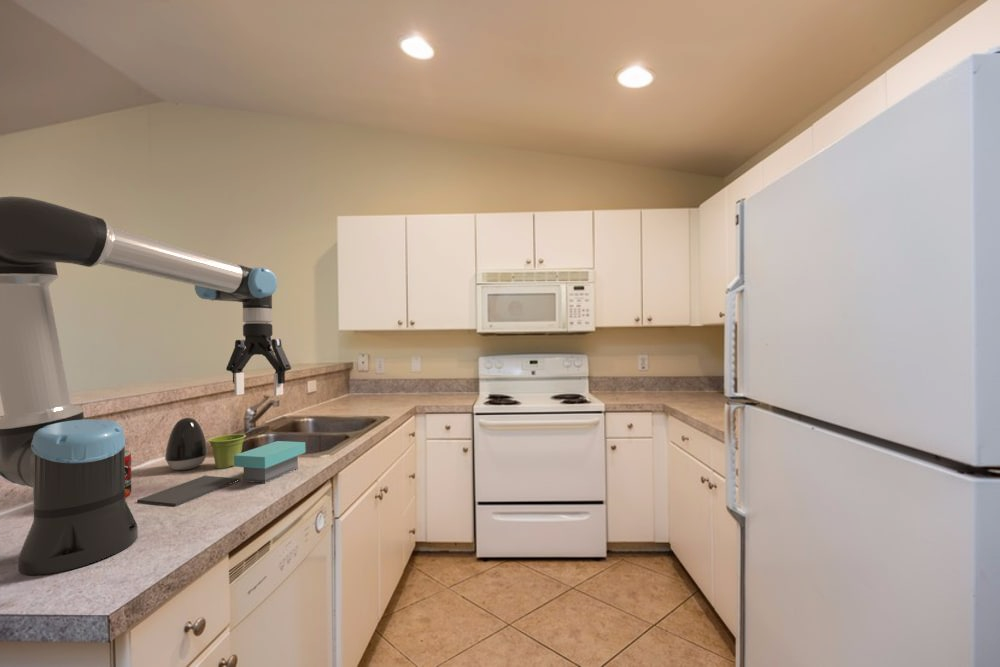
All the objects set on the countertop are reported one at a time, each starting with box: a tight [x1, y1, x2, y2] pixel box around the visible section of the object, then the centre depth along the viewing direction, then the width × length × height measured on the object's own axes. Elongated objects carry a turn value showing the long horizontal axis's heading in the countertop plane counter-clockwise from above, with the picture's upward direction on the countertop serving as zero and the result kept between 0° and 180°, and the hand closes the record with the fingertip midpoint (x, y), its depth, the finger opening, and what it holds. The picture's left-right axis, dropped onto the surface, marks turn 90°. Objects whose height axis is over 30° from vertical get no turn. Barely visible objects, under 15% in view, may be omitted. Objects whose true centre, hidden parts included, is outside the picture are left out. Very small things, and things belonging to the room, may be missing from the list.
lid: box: [233, 440, 306, 469], centre depth 114 cm, size 10×15×3 cm, turn 166°
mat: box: [136, 475, 240, 507], centre depth 103 cm, size 17×12×1 cm
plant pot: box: [208, 433, 247, 469], centre depth 124 cm, size 9×9×9 cm
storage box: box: [243, 455, 299, 483], centre depth 114 cm, size 7×12×6 cm, turn 166°
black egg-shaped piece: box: [164, 417, 208, 471], centre depth 123 cm, size 10×10×15 cm
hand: (258, 394), depth 119 cm, fingers open, 13 cm apart
